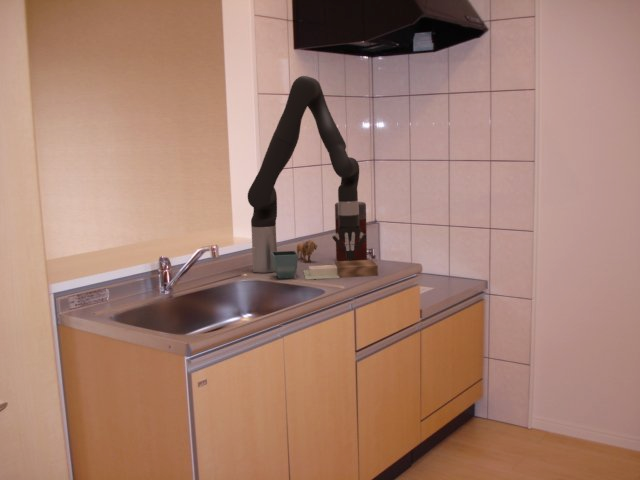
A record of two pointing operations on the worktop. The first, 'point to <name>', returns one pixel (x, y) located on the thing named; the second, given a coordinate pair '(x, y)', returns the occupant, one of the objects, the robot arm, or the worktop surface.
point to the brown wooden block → (356, 268)
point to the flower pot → (285, 263)
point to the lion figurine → (306, 249)
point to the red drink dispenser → (362, 250)
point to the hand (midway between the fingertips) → (350, 260)
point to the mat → (308, 277)
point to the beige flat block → (323, 270)
